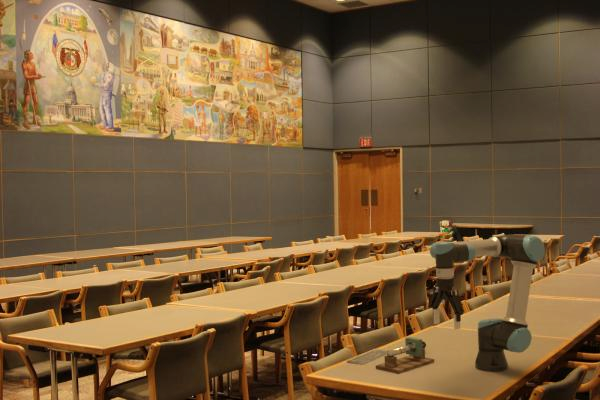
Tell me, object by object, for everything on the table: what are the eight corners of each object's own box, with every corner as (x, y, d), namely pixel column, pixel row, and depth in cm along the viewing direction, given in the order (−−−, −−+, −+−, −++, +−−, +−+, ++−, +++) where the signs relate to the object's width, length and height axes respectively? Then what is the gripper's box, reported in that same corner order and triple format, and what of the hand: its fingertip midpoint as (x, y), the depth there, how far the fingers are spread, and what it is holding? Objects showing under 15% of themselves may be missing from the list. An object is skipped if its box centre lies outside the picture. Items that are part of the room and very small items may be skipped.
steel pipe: (417, 347, 347) (417, 340, 347) (422, 348, 345) (422, 341, 345) (386, 356, 331) (386, 349, 331) (392, 357, 328) (391, 350, 328)
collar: (409, 352, 346) (409, 336, 346) (422, 355, 341) (422, 339, 340) (405, 353, 344) (405, 337, 344) (418, 356, 339) (418, 340, 338)
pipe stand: (411, 357, 352) (411, 345, 352) (434, 362, 342) (433, 349, 342) (375, 368, 333) (375, 355, 333) (398, 373, 323) (398, 360, 323)
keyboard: (364, 366, 341) (364, 362, 341) (346, 363, 347) (346, 359, 347) (392, 353, 364) (392, 350, 364) (375, 351, 370) (374, 347, 370)
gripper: (420, 275, 308) (422, 322, 309) (457, 281, 286) (459, 332, 287) (433, 273, 311) (435, 320, 312) (471, 279, 289) (473, 330, 290)
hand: (446, 326), depth 299 cm, fingers open, 13 cm apart
